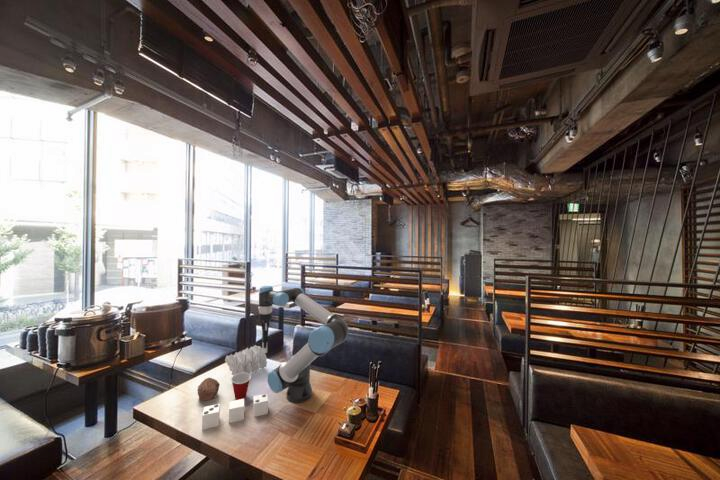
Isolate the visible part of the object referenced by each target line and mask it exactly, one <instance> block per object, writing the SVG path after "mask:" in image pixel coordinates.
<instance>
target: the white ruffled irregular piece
mask: <svg viewBox="0 0 720 480" xmlns="http://www.w3.org/2000/svg"><path fill="white" fill-rule="evenodd" d="M266 354H267V353H262V346H260V345H258V346H257V345H256V344H255V345H253V346H250V348H249V347H246V348H245V349H242V350H240V351H238V352H237V351H236V352H235V353H234V354H232V353H230V354H229V355H226V356H225V359H224V362H225V364H227V366H228V369H229V371H230V372H231V375H232V377H233V376H234V375H236V374H239V373H248V374H250V375H251V373H253V372H254V373H257V372H258V371H260V369H261V370H263V369H264V368H267V363H268V361H267V358H268V357H267V355H266Z"/></svg>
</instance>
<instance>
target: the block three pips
mask: <svg viewBox="0 0 720 480" xmlns="http://www.w3.org/2000/svg"><path fill="white" fill-rule="evenodd" d="M220 405H221V404H220V403H216V404H212V405H207V406H204V407H203V410H202V415H201V416H202V418H201V419H202V420H201V430H207V429H210V428H214V427H218V426H219V424H220V410H221V409H220V408H221V407H220Z"/></svg>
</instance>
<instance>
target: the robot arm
mask: <svg viewBox="0 0 720 480" xmlns="http://www.w3.org/2000/svg"><path fill="white" fill-rule="evenodd" d="M288 303H293V304H295V306H296V305H297V306H298V307H299V308H300V309H302V310H303V311H304V312H306V314H308V315H310V316H311V317H313V319H315V320H316V321H318V322H319V323H320V324H322V325H320V326H317V327H315V328H314V329H313V330H312V331H311V332H310V333H309V335H308V339H307V343H305V345H304V346H303V347H302V348H301V349H299V350H298V352H296V353H295V354H294V355H291V356H290V359H289V360H285V361H283V362H282V363H280V364H279V366H277V367H276V368H274V369H272V370H271V371H269V372H268V374H267V383H268V386H269V388H270V390H271V391H272V392H273V393H275V394H279V393H280V392H281V393H282V391H284V390H286V389H287V390H286V395H285V396H286V399H287V400H288V402H290V403H295V404H297V403H299V404H300V403H305V402H306V401H308V400H310V399H311V398H312V397H313V387H312V385H311V379H310V378H311V364H312V362H314V360H316V359H317V358H318V357H323V356H325V355H326V354H327V353H329V352H330V351H331V350H332V349H333V348H335V347H337V346H339V345H340V344H342V343H344V342H345V341H346V340H347V338H348V336H349V327H348V324H347V322H346V321H345V319H343V317H341V316H340V315H338V314H337V313H332V312H330V311H329V310H327V308H325V307H323V306H322V305H320V303H318V302H316V301H315V300H314V299H312V298H311V297H309V296H308V295H306V294H305V291H304V288H302V287H294V288H289V289H284V290H280V291H276V290H274V287H273V286H272V285H262V286H260V287H259V289H258V307H257V309H258V320H259V321H261V330H262V332H261V335H262V337H261V340H262V341H261V343H262V344H261V348H262V353H265V354H267V353H268V342H269V329H270V327H269V326H270V322H269V321H270V320H272V319H273V305H274V306H278V307H284V306H286V305H287V304H288Z"/></svg>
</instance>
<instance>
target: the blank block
mask: <svg viewBox="0 0 720 480" xmlns="http://www.w3.org/2000/svg"><path fill="white" fill-rule="evenodd" d="M244 419H245V398H244V399H239V400H236V399H235V400H231V401H229V407H228V423H229V424H230V423H235V422H239V421H244Z"/></svg>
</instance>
